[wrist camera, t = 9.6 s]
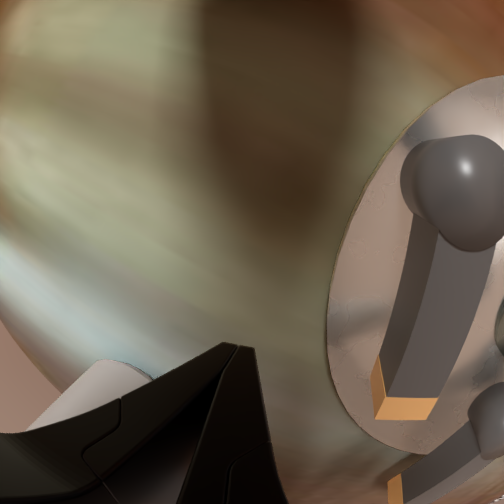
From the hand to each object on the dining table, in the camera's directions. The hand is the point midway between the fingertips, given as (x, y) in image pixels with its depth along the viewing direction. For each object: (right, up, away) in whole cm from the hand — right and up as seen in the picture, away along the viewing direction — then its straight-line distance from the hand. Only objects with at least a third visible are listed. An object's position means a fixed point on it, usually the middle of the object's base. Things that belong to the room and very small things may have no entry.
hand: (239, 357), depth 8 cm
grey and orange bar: (+14, -10, +6) cm, 18 cm away
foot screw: (+8, +2, +4) cm, 9 cm away
